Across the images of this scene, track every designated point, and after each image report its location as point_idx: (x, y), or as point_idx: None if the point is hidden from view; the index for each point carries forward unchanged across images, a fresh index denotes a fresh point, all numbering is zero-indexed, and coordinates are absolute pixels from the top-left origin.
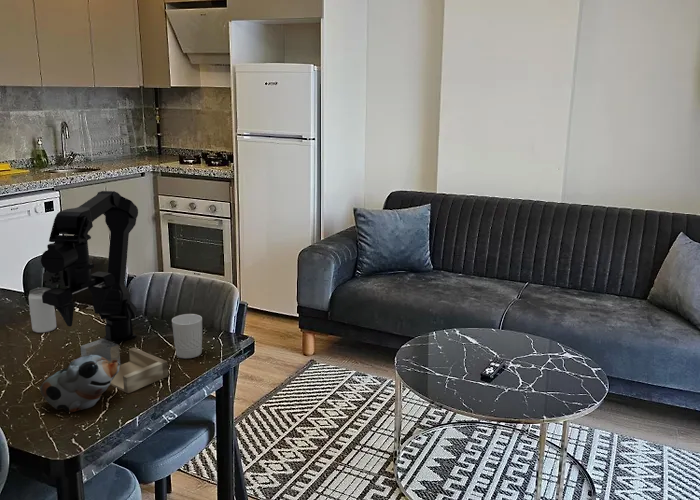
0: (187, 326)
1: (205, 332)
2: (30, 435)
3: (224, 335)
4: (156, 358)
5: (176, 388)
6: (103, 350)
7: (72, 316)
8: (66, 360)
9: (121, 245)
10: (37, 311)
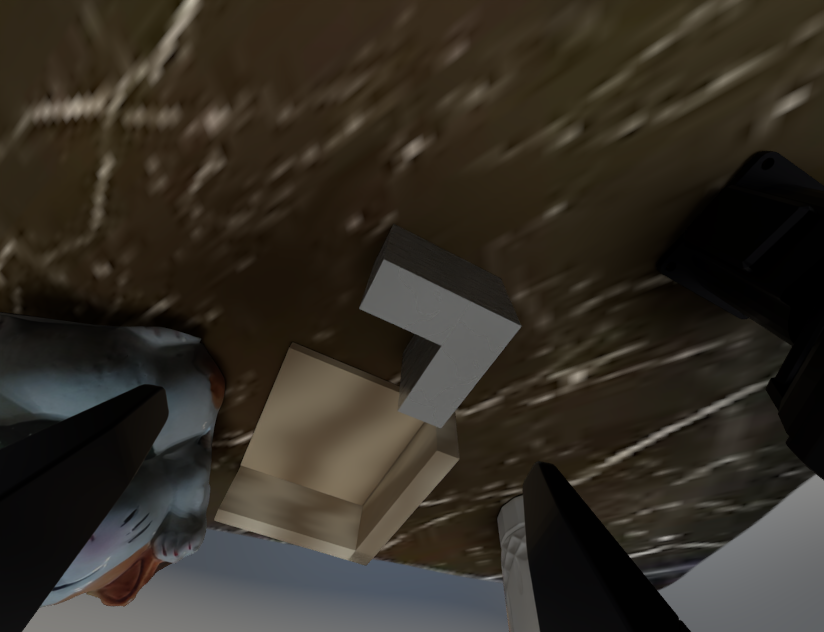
0: None
1: (729, 510)
2: None
3: (687, 553)
4: (378, 541)
5: None
6: (428, 345)
7: (57, 566)
8: (415, 104)
9: None
10: None
